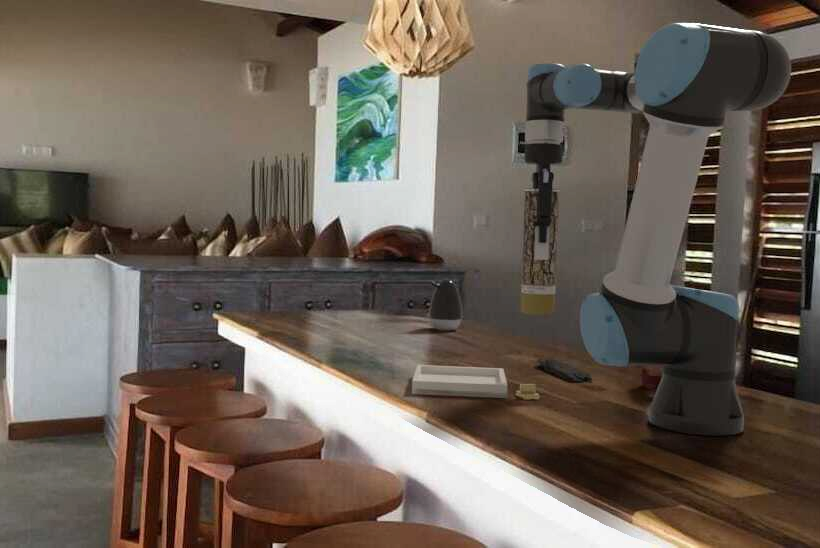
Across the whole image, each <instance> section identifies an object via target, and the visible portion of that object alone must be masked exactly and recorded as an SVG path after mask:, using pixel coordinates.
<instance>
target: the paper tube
mask: <svg viewBox="0 0 820 548" xmlns="http://www.w3.org/2000/svg"><path fill="white" fill-rule="evenodd" d="M538 192H539V189H536V191H535V188H533V187H531V188H525V191H524V206H523V207H524V212H523V233H522V234H523V236H522V260H521V261H522V263H521V284H520V286H521V288H520V289H521V290H520V292H521V293H520V312H522V313H523V314H526V315H536V316H537V315H539V316H544V315H545V316H547V315H552V314H554V312H555V308H556V307H555V302H556V285H557V283H556V282H557V261H558V258H557V257H558V256H557V255H558V236H559V233H558V231H559V214H560V213H559V212H560V211H559V210H560V209H559V208H560V189H558V188H552V195H551V223H550V225H549V226H547V227H550V231H549V256H548V260H534V251H535V226H533V222H537V193H538ZM537 227H539V226H537Z"/></svg>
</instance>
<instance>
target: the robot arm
mask: <svg viewBox="0 0 820 548" xmlns="http://www.w3.org/2000/svg"><path fill="white" fill-rule="evenodd" d="M791 74H792V63H791V60H790V56H789V53H788V51H787V49H786V48H785V47H784V45H783V44H782V43H781V42H780V41H779V40H777V38H775V37H774V36H772V35H771V34H767V33H765V32H763V31H759V30H753V29H739V28H732V27H725V26H717V25H710V24H709V25H708V24H701V23H699V22H698V23H697V22H696V23H694V22H691V23H689V22H688V23H687V22H681V23H680V22H673V23H669V24H668V23H667V24H666V25H664V26H662V27H660V28H659V29H657V30H656V31H655V33H654V34H652V35H651V36H650V37H649V39H648V40H646V42H645V44H644V45H643V47H642V49H641V51H640V53H639V56H638V58H637V61H636V65H635V68H634V71H631V72H630V71H613V70H606V69H605V70H604V69H597V68H594V67H593V66H591V65H589V64H587V63H578V64H577V63H576V64H575V63H574V64H570V65H569V66H568V65H567V66H566V67H565V66H564V65H563V64H562V63H561V64H560V63H554V62H553V63H552V62H543V63H535V64H533V65H531V66H530V67H529V69H528V75H527V81H526V113H525V114H526V119H525V131H524V132H525V133H524V141H525V142H526V143H527V144H526V145H524V163H526V164H528V165H536V168H535V171H534V172H532V176H531V180H532V188H535V191H536V189H539V192H538V193H537V222H533V226H535V251H534V260H548V256H549V231H550V227H547V226H549V225H550V223H551V195H552V189H553V181H554V178H555V174H554V173H553V171H551V165H553V166H554V165H560V164H562V163H563V158H564V147H563V145H562V144H561V143H563V142H564V133H567V127H565V126H564V125H565V124H564V123H565V110H569V109H570V110H571V109H578V110H589V111H603V112H615V113H616V112H617V113H618V112H619V113H627V114H628V113H629V114H634V115H643V116H644V117H645V119H646V120H647V122H648V123H649V127H648V128H649V129H648V132H647V136H646V141H645V145H644V149H643V153H642V156H641V161H640V166H639V170H638V174H637V178H636V182H635V186H634V189H633V190H634V191H633V195H632V198H631V203H630V208H629V210H628V216H627V220H626V224H625V228H624V232H623V236H622V240H621V245H620V249H619V254H618V256H617V257H618V258H617V261H616V266H615V269H614V270H612V271H611V272H610V273H607V274H606V275H604V277H603V279H602V283H601V287H600V291H599V292H593V293H591V294H588V295H587V296H586V297H585V298H583V299H584V300H583V301H582V304H581V306H580V311H579V312H580V313H579V326H580V327H579V328H580V334H581V337H582V341H583V344H584V346H585V348H586V351H587V352H588V353H589V356H590V357H592V359H593V360H594V361H596V362H597V363H599V364H600V365H604V366H617V367H621V368H624V367H627V366H643V365H663V372H662V379H661V381H660V384H659V386H658V389H657V391H655V394H654V397H653V399H652V402H651V405H650V407H649V414H648V415H649V417H648V419H649V420H648V421H649V423H650V424H652V425H654V426H656V427H658V428H661V429H665V430H668V431H672V432H676V433H682V434H689V435H695V436H696V435H697V436H711V437H712V436H713V437H714V436H717V437H718V436H719V437H720V436H732V435H733V436H735V435H737V434H741V433H743V431H744V426H745V425H744V424H745V423H744V422H745V415H744V413H743V412H744V411H743V409H742V404H741V401H740V396H739V393H738V390H737V387H736V369H737V368H736V367H737V349H738V335H739V325H740V324H741V323H740V322H741V321H740V317H739V315H740V314H739V311H740V310H739V308H740V307H739V305H740V304H739V301H738V299H737V298H736V297H735V296H734V295H732V294H729V293H723V292H717V291H711V290H704V289H697V288H692V287H685V286H680V285H679V286H678V285H673V284H672V285H671V283H670V282H671V278H672V275H673V271H674V268H675V263H676V260H677V255H678V252H679V248H680V245H681V242H682V237H683V233H684V230H685V225H686V223H687V218H688V216H689V211H690V207H691V204H692V201H693V200H692V199H693V197H694V193H695V188H696V185H697V182H698V178H699V173H700V170H701V167H702V163H703V159H704V156H705V152H706V148H707V144H708V141H709V140H708V139H709V137H710V136H711V135H712V134H715V132H717V131H718V130H720V129H722V128H723V126H724V122H725V118H726V115H727V112H729V111H731V112H752V111H758V110H762V109H765V108H767V107H768V106H771V105H772V104H774V103H775V102H776V101H777V100H779V99H780V97H781V96H782V95H783V94H784V92H785V91H786V90H787V87H788V85H789V83H790V79H791V77H792V75H791ZM537 226H539V227H537Z"/></svg>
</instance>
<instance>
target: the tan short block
mask: <svg viewBox="0 0 820 548" xmlns="http://www.w3.org/2000/svg"><path fill="white" fill-rule="evenodd" d="M515 396H516V397H518V398H520V399H522V400H528V401H529V400H531V399H532V400H533V399H534V400H540V394H539V393H537V384H536V383H520V384H519V390H515ZM532 400H531V401H532Z"/></svg>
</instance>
